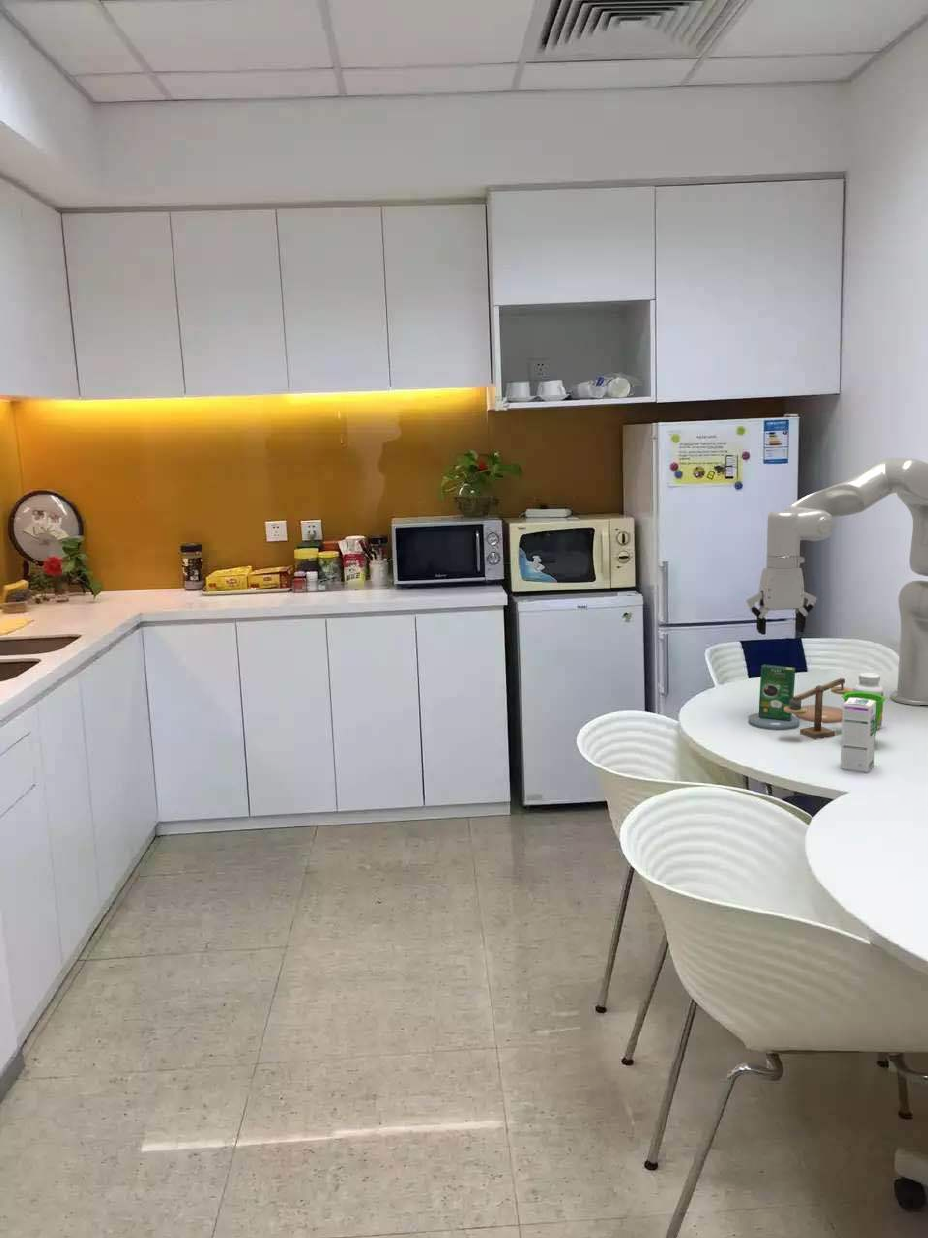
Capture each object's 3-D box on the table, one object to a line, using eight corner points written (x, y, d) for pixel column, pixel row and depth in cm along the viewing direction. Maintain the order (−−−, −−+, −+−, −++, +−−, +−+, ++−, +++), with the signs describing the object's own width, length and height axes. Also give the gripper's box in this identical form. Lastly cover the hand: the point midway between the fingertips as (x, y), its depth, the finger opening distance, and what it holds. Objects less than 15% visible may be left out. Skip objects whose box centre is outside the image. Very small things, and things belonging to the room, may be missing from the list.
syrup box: (868, 773, 210) (872, 706, 207) (839, 768, 213) (842, 702, 211) (874, 765, 215) (877, 699, 212) (845, 761, 218) (848, 696, 215)
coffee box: (794, 718, 246) (796, 666, 244) (791, 721, 244) (793, 669, 241) (760, 715, 250) (762, 663, 248) (757, 717, 248) (759, 666, 245)
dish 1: (787, 715, 253) (787, 710, 253) (807, 729, 242) (808, 724, 241) (741, 717, 252) (741, 713, 252) (759, 731, 240) (760, 726, 240)
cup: (881, 739, 233) (883, 693, 231) (883, 750, 224) (886, 703, 222) (839, 736, 236) (842, 690, 234) (840, 747, 227) (842, 700, 225)
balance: (840, 727, 242) (843, 674, 240) (856, 732, 238) (858, 679, 236) (778, 737, 236) (780, 683, 233) (792, 743, 231) (794, 688, 229)
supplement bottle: (884, 731, 239) (887, 678, 236) (854, 730, 240) (857, 678, 238) (878, 723, 245) (881, 672, 243) (849, 722, 246) (852, 671, 244)
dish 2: (832, 708, 259) (832, 704, 258) (855, 721, 247) (855, 716, 247) (787, 710, 257) (788, 706, 257) (808, 723, 246) (808, 719, 246)
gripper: (810, 559, 246) (807, 627, 249) (742, 562, 244) (740, 631, 247) (824, 563, 239) (821, 633, 242) (754, 566, 237) (752, 637, 240)
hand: (780, 632), depth 245 cm, fingers open, 9 cm apart
